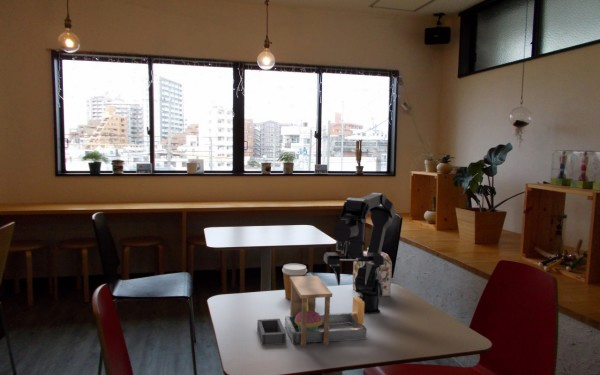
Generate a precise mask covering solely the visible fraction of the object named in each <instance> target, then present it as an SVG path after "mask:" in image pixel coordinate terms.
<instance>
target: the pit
mask: <svg viewBox="0 0 600 375" xmlns="http://www.w3.org/2000/svg"><path fill="white" fill-rule="evenodd" d="M256 324H257V326H256V327H257V328H256V329H257V333H258V336H259V340H260V343H261V346H266V345H281V344H282V345H283V344H287V343H286V342H287V340H286V338H287V332H286V331H285V328H284V326H283V324H282V321H281V319H280V318H267V319H266V318H264V319H257V323H256Z"/></svg>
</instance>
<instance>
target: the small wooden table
mask: <svg viewBox="0 0 600 375" xmlns="http://www.w3.org/2000/svg"><path fill="white" fill-rule="evenodd" d="M290 281H291V300H290V307H289V308H290V312H289V314H290V315H289V316H296V315H297V314H298V313H299V312H301V311H302V315H301V343H299V344H300V347H301V348H306V344H307V343H306V317H307V298H308V310H312V311H315V312H316V298H317V299H318V298H324V310H323V311H324V313H323V314H324V324H323V330H324V335H323V342H322V344H323V346H324V347H325V346H327V347H328V346H329V341H328V338H329V330H330V324H329V314H331V313H330V311H331V310H330V308H331V298H333V293H332V291H331V290H330V289H329V288H328V287H327V286H326V284H325V283H324V282H323V281H322V279H321V278H320V277H319V275H305V276H295V277H290Z"/></svg>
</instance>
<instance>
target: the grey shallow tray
mask: <svg viewBox="0 0 600 375" xmlns="http://www.w3.org/2000/svg"><path fill="white" fill-rule="evenodd" d="M364 304H365V303H364V302H363V301H362V300H361V299H360V298H359V297H358V296H353V297H352V312H338V313H330V314H329V325H332V324H351V326H352V327H353V328H337V329H329V338H328V342H335V341H336V342H338V341H353V340H365V339H367V334H368V333H367V327H366V326H365V325H364V322H365V313H364ZM319 315H321V317H322V324H321V325H324V313H321V314H320V313H319ZM284 320H285V321H284V326H285V329H286V331H287V332H288V335H289V337H290V339H291V342H292V344H301V332H299V331H296V329H295V327H296V326H297V324H296V323H295V316H290V315H285V318H284ZM297 327H298V326H297ZM323 335H324V329H323V330H322V329H321V330H316V331H306V344H308V343H323Z"/></svg>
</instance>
